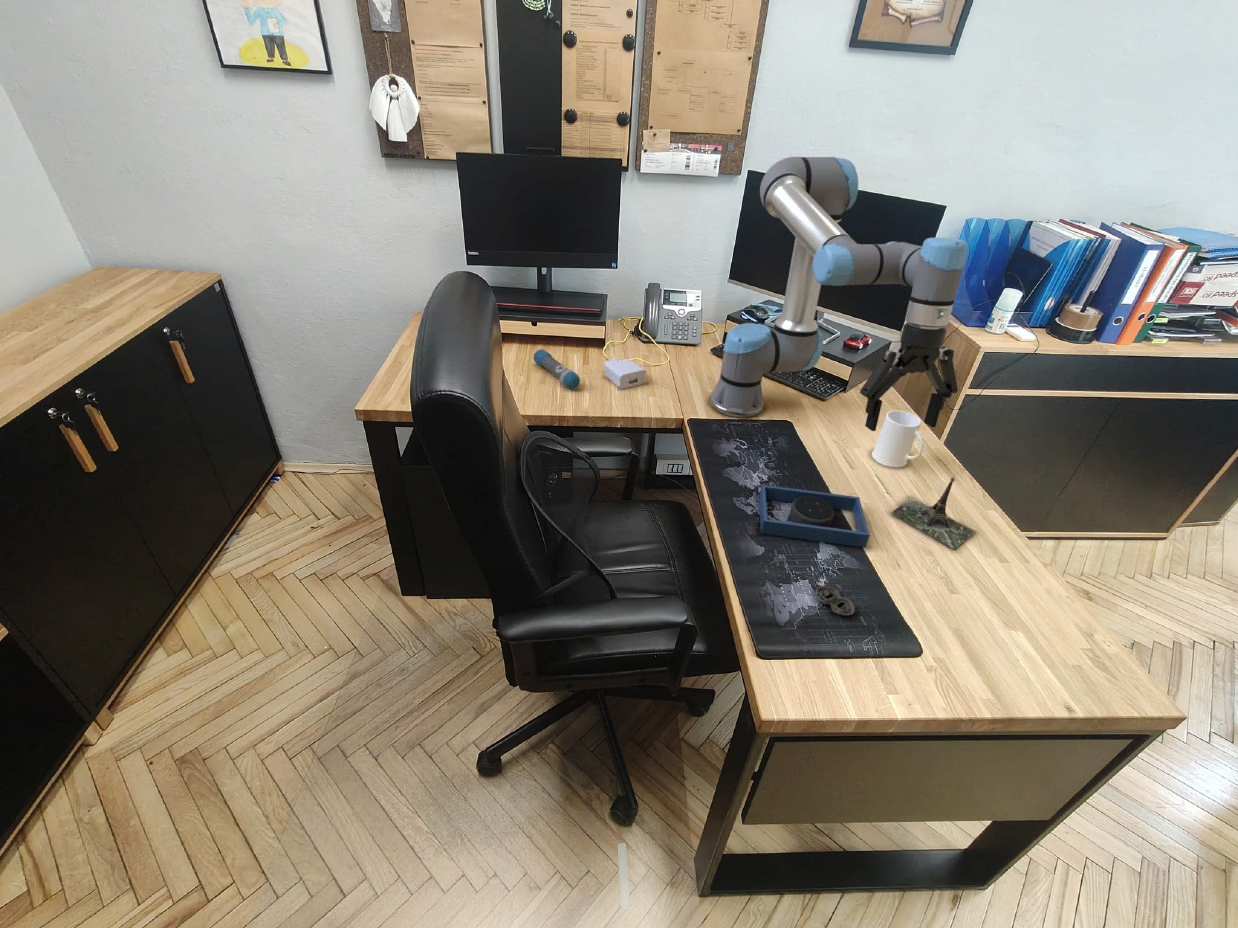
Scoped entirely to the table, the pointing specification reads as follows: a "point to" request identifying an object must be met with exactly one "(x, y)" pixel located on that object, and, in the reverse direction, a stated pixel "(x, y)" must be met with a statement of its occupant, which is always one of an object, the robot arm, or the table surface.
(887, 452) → the mug
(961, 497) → the table surface
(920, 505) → the eiffel tower figurine
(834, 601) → the corroded twin loop
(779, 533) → the rectangular frame
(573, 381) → the grey and blue rod
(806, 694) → the table surface
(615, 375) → the charger
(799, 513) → the smart speaker
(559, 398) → the table surface
